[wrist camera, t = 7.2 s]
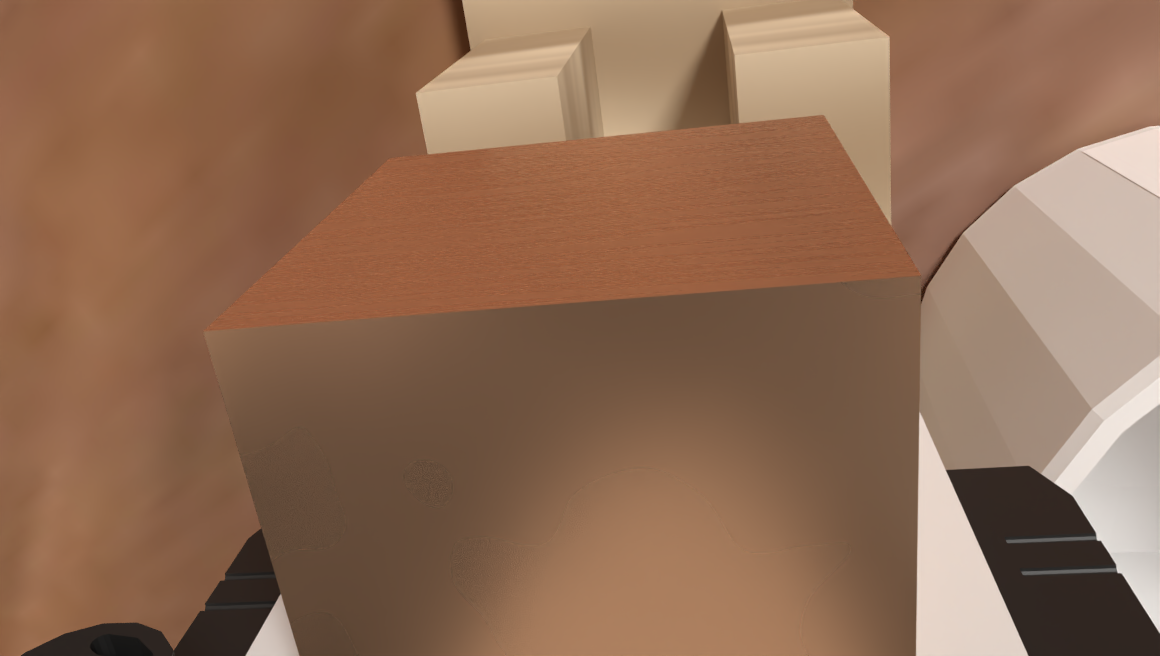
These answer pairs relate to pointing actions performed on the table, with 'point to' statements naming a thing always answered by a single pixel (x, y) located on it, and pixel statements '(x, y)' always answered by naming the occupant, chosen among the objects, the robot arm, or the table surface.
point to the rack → (663, 74)
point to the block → (590, 404)
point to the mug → (1060, 343)
